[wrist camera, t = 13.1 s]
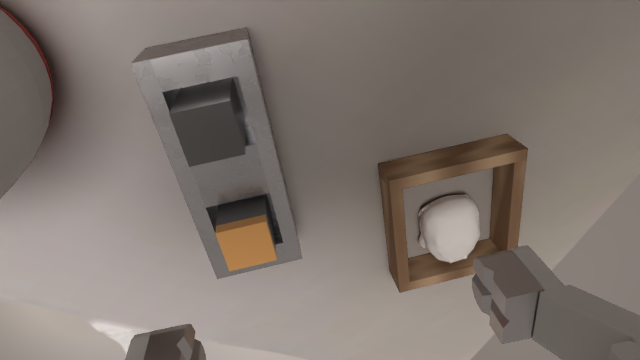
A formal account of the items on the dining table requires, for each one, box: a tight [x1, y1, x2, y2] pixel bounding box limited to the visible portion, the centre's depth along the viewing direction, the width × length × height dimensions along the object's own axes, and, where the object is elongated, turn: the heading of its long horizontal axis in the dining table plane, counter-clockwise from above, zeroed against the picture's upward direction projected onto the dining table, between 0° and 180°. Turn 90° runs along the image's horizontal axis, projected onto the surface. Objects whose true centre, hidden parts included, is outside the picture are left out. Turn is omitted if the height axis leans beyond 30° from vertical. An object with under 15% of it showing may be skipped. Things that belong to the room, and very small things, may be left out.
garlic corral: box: [378, 134, 528, 292], centre depth 43 cm, size 13×14×4 cm
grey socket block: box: [131, 27, 302, 279], centre depth 35 cm, size 8×20×5 cm, turn 10°
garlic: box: [418, 195, 480, 263], centre depth 44 cm, size 8×7×4 cm
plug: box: [215, 194, 277, 271], centre depth 36 cm, size 4×4×7 cm
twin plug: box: [169, 77, 245, 167], centre depth 31 cm, size 4×4×7 cm
